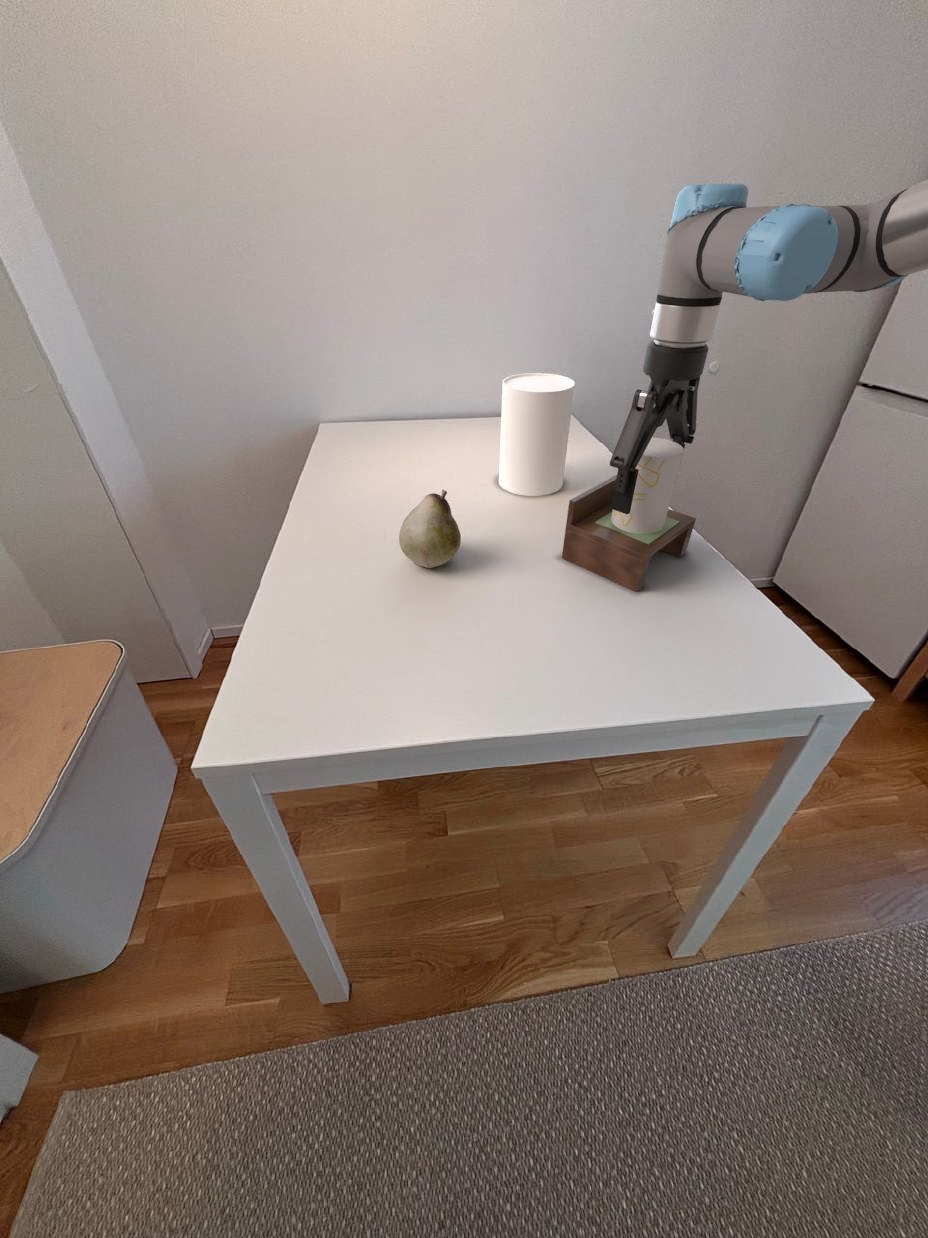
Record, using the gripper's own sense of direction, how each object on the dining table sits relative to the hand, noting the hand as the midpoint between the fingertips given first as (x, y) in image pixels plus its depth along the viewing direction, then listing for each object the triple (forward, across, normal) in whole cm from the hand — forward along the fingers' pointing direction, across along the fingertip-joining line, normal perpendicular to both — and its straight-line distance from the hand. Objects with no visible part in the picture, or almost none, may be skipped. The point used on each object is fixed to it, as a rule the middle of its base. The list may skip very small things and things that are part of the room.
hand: (644, 496), depth 79 cm
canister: (+11, -12, -31) cm, 35 cm away
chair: (+11, 0, -1) cm, 11 cm away
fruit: (+11, +24, -23) cm, 35 cm away
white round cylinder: (+5, 0, 0) cm, 5 cm away
